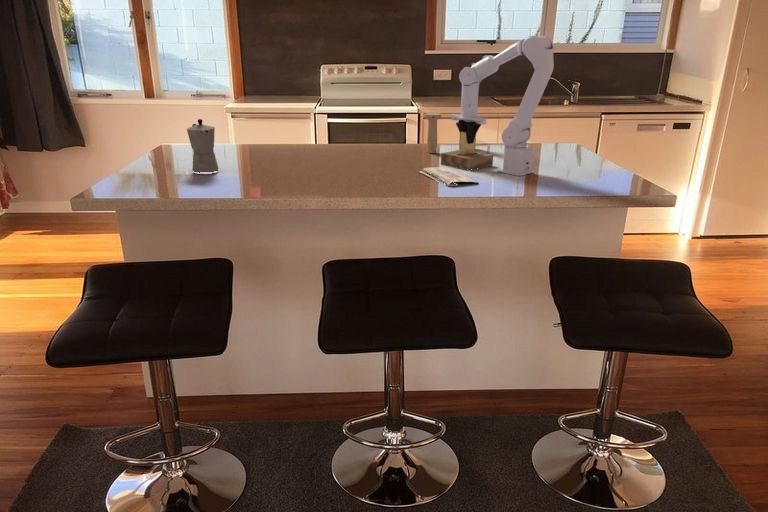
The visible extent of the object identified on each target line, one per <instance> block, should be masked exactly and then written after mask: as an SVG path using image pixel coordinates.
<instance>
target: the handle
mask: <svg viewBox="0 0 768 512" xmlns="http://www.w3.org/2000/svg"><path fill="white" fill-rule="evenodd" d="M424 118H425V119H426V120H427V123H428V126H427V135H426V136H427V137H426V138H427V139H426V141H427V142H426V143H427V144H426V146H427V153H428V154H436V152H437V149H438V147H437V146H438V120H440V119H441V118H442V113H439V112H437V113H436V112H432V113H431V112H429V113H424Z"/></svg>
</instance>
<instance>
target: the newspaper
mask: <svg viewBox="0 0 768 512" xmlns="http://www.w3.org/2000/svg"><path fill="white" fill-rule="evenodd" d="M418 173H421V174H423V175H425V176H427V177H429V178H430V179H432V180H434V181H436V182H437V183H438V182H439V183H438V184H440V183H442V182H443V183H442V184H441V185H443V184H444V183H445V184H446V185H447V186H448V187H454V186H455V187H458V186H457V185H456V184H454V183H453V182H455V183H473V182H475V183H479V182H477V181H476V180H474V179H472V178H470V177H468V176H466V175H464V174H462V173H460V172H458V171H456V170H454V169H452V168H449V167H437V166H435V167H424V168H423V169H422V170H421V171H420V170H419V172H418ZM427 173H428V174H427ZM429 174H430V175H429ZM434 177H435V178H434ZM436 178H437V179H436ZM438 179H439V180H438ZM475 183H474V184H475ZM446 185H445V186H446Z"/></svg>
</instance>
